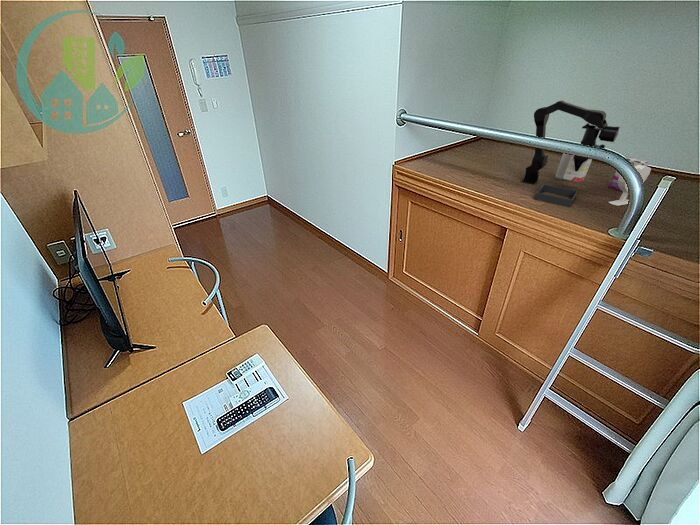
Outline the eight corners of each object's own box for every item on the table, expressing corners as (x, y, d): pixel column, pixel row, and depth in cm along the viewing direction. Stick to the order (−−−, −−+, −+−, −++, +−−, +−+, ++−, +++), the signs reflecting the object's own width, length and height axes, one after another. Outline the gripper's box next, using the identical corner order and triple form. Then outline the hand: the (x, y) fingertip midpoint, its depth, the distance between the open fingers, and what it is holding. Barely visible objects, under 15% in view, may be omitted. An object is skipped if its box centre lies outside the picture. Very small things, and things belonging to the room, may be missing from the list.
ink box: (583, 181, 170) (593, 158, 163) (578, 183, 168) (587, 160, 161) (567, 176, 176) (576, 155, 170) (562, 178, 174) (570, 156, 168)
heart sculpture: (626, 198, 166) (644, 163, 156) (636, 201, 162) (655, 166, 152) (605, 202, 161) (621, 166, 151) (615, 206, 157) (632, 169, 147)
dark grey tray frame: (534, 199, 166) (536, 192, 164) (541, 190, 176) (544, 184, 174) (569, 206, 157) (572, 200, 155) (575, 196, 168) (577, 190, 166)
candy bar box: (635, 192, 172) (650, 161, 163) (628, 193, 171) (644, 162, 161) (614, 185, 181) (628, 156, 172) (608, 187, 179) (621, 157, 170)
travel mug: (554, 176, 195) (566, 141, 184) (566, 177, 193) (579, 143, 182) (553, 179, 191) (565, 144, 180) (566, 180, 188) (579, 145, 177)
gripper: (606, 144, 150) (592, 177, 159) (610, 137, 162) (597, 168, 171) (579, 141, 156) (567, 173, 165) (585, 134, 168) (573, 164, 177)
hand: (577, 169), depth 169 cm, fingers closed on ink box, 6 cm apart
